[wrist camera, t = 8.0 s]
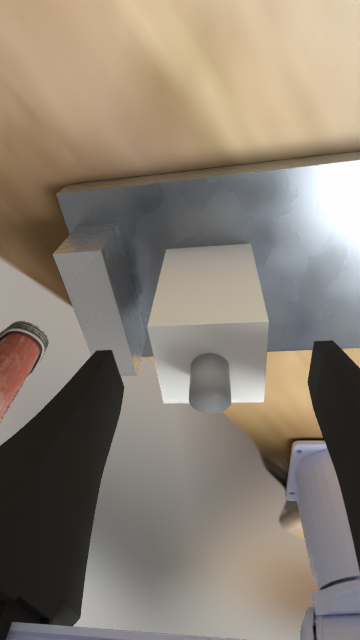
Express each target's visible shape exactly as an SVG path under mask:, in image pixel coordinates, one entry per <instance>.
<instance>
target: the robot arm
mask: <svg viewBox="0 0 360 640" xmlns="http://www.w3.org/2000/svg"><path fill="white" fill-rule="evenodd" d="M308 386H309V391H310V396H311V400H312V405H313V409H314V412H315V415H316V418H317V421H318V424H319V426H320V429H321V432H322V435H323V438H324V440H321V441H295V442H293V444H292V449H291V457H290V464H289V471H288V479H287V486H286V493H285V496H286V499H287V500H289V501H297V503H298V508H299V513H300V518H301V523H302V528H303V533H304V538H305V543H306V547H307V553H308V558H309V563H310V567H311V571H312V574H313V576H314V578H315V580H316V582H317V585H318V591H312V592H311V594H312V599H313V605H314V607H309V608H308V609H307V610H306V613H305V616H304V619H303V621H302V624H301V631H300V640H360V368H359V367H358V366H357V365H356V364H355V363H354V362H353V361H352V360H351V359H350V358H349V357H348V355H347V354H346V353H345V352H344V351H343V350H342V349H341V348H340V347H339V346H338V345H337V344H336V343H335V342H334V341H333V340H329V341H314V345H313V351H312V358H311V364H310V371H309V377H308ZM123 392H124V385H123V382H122V379H121V376H120V373H119V370H118V367H117V364H116V361H115V358H114V355H113V352H112V350H97V351H95V353H94V354H93V355H92V356H91V357H90V358H89V359H88V360H87V362H86V363H85V364H84V365H83V366H82V367H81V368H80V369H79V371H78V372H77V373H76V374H75V375H74V376H73V377H72V379H71V380H70V381H69V382H68V383H67V384H66V385H65V386H64V387H63V389H61V391H60V392H59V393H58V394H57V395H56V396H55V397H54V398H53V399H52V400H51V401H50V402H49V403H48V404H47V405H46V406H45V407H44V408H43V409H42V410H41V411H40V412H39V413H38V414H37V415H36V416H35V417H34V418H33V419H32V420H30V421H29V422H28V423H27V424H26V425H25V426H24V427H23V428H21V429H20V430H19V431H18V432H17V433H16V434H15V435H13V436H12V437H11V438H10V439H8V440H7V441H6V442H5V443H3V444H2V445H1V446H0V640H246V639H231V638H218V637H205V636H192V635H178V634H165V633H152V632H138V631H125V630H113V629H99V628H85V627H73V625H74V624H75V623H76V622H77V621H78V620H79V618H80V615H81V606H82V598H83V589H84V581H85V573H86V565H87V559H88V552H89V545H90V538H91V532H92V526H93V520H94V514H95V508H96V503H97V498H98V493H99V487H100V482H101V478H102V474H103V470H104V466H105V463H106V460H107V456H108V453H109V450H110V446H111V443H112V439H113V436H114V432H115V429H116V426H117V422H118V419H119V415H120V410H121V405H122V398H123Z"/></svg>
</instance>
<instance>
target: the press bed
mask: <svg viewBox="0 0 360 640" xmlns="http://www.w3.org/2000/svg"><path fill="white" fill-rule="evenodd" d="M56 196H57V199H58V202H59V205H60V208H61V211H62V214H63V217H64V220H65V223H66V226H67V229H68V232H69V236H68V237H67V238H66V239H65V241H64V242H63V243H62V244H61V245H60V247H59V248H58V249H57V250H56V251H55V252H54V254H53V257H54V259H55V262H56V264H57V267H58V270H59V272H60V275H61V277H62V280H63V282H64V285H65V288H66V290H67V293H68V295H69V298H70V301H71V303H72V306H73V308H74V311H75V314H76V316H77V319H78V321H79V324H80V327H81V329H82V331H83V334H84V337H85V339H86V342H87V345H88V347H89V350H90V352H91V355H93V354H94V353H95V351H97V350H112V352H113V355H114V358H115V361H116V364H117V367H118V370H119V373H120V376H136V375H137V374H138V369H139V365H140V361H141V357H149V356H153V351H152V347H151V342H150V338H149V333H148V328H147V325H148V321H149V317H150V313H151V309H152V305H153V301H154V297H155V293H156V289H157V285H158V281H159V276H160V272H161V268H162V264H163V260H164V256H165V252H166V249H178V248H192V247H206V246H220V245H234V244H248V243H251V246H252V251H253V255H254V259H255V264H256V268H257V272H258V277H259V281H260V285H261V290H262V294H263V298H264V303H265V307H266V311H267V316H268V320H269V327H268V343H267V352H271V351H296V350H313V345H314V341H329V340H333V341H334V342H335V343H336V344H337V345H338V346H339V347H340V348H341V349H345V348H360V151H358V152H349V153H340V154H332V155H323V156H314V157H306V158H297V159H288V160H280V161H271V162H262V163H254V164H245V165H236V166H228V167H219V168H210V169H202V170H193V171H184V172H176V173H167V174H158V175H150V176H141V177H132V178H124V179H115V180H106V181H98V182H89V183H80V184H72V185H67V186H66V187H64V188H63V189H62V190H61V191H59V192H58V193H57V194H56Z"/></svg>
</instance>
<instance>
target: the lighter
mask: <svg viewBox="0 0 360 640" xmlns="http://www.w3.org/2000/svg"><path fill="white" fill-rule="evenodd" d="M48 344H49V339H48V337H47V335H46V334H45V332H44V331H43V330H42V329H40V328H39V327H38V326H36V325H34V324H32V323H29V322H25V321H17V322H15V323H13V324H11V325H10V326H9V327H7V328H6V329H5V330H4V331H2V332H1V333H0V422H1V420H2V419H3V417H4V415H5V413H6V412H7V410H8V408H9V407H10V405H11V403H12V402H13V400H14V398H15V397H16V395H17V393H18V392H19V390H20V388H21V387H22V385H23V383H24V382H25V381H26V380H27V379H28V378H29V377H30V375H31V374H32V372H33V371H34V370H35V368H36V367H37V366H38V364H39V362H40V360H41V359H42V357H43V355H44V352H45V350H46V348H47V346H48Z"/></svg>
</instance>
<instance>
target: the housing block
mask: <svg viewBox="0 0 360 640" xmlns="http://www.w3.org/2000/svg"><path fill="white" fill-rule="evenodd" d="M268 327H269V320H268V316H267V311H266V307H265V303H264V298H263V294H262V290H261V285H260V281H259V277H258V272H257V268H256V264H255V259H254V255H253V251H252V246H251V243H248V244H234V245H220V246H206V247H192V248H178V249H166V252H165V256H164V260H163V264H162V268H161V272H160V276H159V281H158V285H157V289H156V293H155V297H154V301H153V305H152V309H151V313H150V317H149V321H148V325H147V328H148V333H149V338H150V342H151V347H152V351H153V356H154V361H155V365H156V370H157V375H158V379H159V384H160V388H161V393H162V398H163V402H164V403H190V404H191V406H192V407H193V408H194V409H196V410H198V411H200V412H203V413H218V412H221V411H224V410H225V409H227V408H228V407H229V406H230V404H231V403H233V402H264V390H265V375H266V359H267V343H268Z"/></svg>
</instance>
